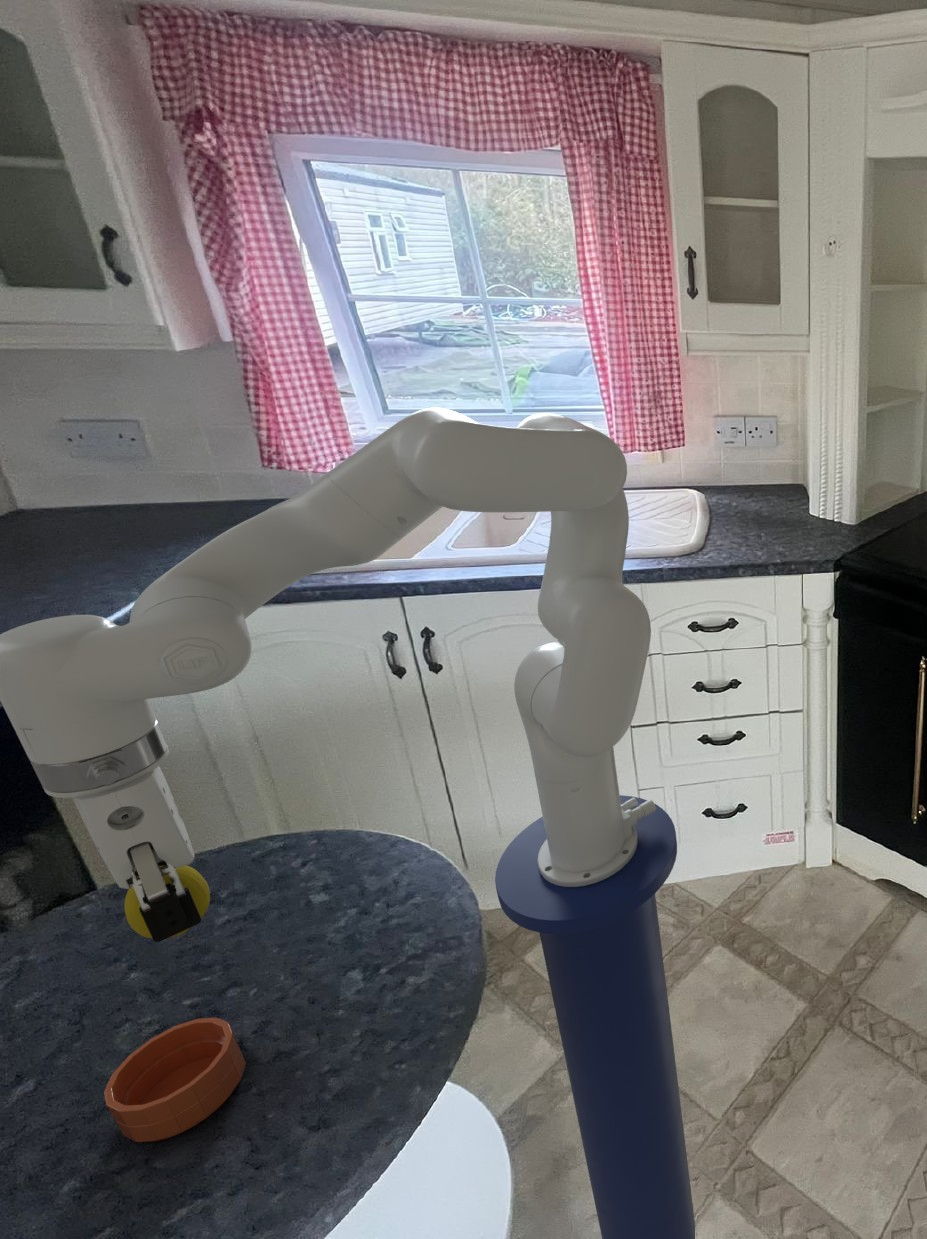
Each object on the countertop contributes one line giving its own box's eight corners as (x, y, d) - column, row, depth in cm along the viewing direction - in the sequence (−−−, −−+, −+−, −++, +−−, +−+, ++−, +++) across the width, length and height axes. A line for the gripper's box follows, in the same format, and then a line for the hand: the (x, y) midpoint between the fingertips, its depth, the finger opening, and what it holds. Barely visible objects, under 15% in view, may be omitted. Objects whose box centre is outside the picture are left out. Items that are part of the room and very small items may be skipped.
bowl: (235, 1034, 76) (220, 1001, 74) (256, 1091, 71) (240, 1056, 69) (118, 1100, 70) (99, 1066, 68) (132, 1168, 65) (111, 1132, 63)
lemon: (231, 924, 71) (205, 861, 68) (156, 967, 67) (125, 902, 64) (206, 900, 74) (180, 839, 71) (131, 941, 69) (100, 877, 66)
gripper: (179, 779, 60) (244, 939, 67) (150, 699, 70) (209, 845, 77) (42, 827, 55) (128, 995, 62) (33, 732, 65) (107, 886, 72)
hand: (172, 910), depth 69 cm, fingers closed on lemon, 5 cm apart
